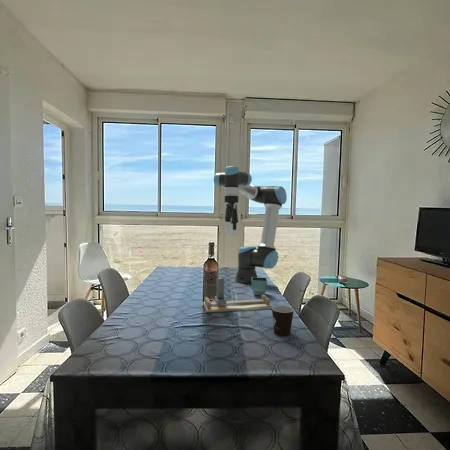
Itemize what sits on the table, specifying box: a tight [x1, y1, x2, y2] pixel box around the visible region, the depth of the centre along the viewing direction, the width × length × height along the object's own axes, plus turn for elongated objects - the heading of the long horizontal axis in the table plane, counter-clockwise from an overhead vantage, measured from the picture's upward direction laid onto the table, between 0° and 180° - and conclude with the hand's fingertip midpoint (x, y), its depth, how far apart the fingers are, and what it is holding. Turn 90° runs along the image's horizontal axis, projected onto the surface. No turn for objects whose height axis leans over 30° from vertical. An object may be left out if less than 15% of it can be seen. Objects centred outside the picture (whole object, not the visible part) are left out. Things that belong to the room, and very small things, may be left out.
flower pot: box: [251, 276, 268, 296], centre depth 184 cm, size 9×9×9 cm
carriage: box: [214, 277, 228, 305], centre depth 160 cm, size 7×4×12 cm, turn 13°
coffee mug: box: [271, 305, 294, 338], centre depth 131 cm, size 12×9×10 cm
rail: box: [203, 294, 272, 313], centre depth 162 cm, size 12×32×4 cm, turn 103°
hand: (230, 234), depth 175 cm, fingers open, 13 cm apart
